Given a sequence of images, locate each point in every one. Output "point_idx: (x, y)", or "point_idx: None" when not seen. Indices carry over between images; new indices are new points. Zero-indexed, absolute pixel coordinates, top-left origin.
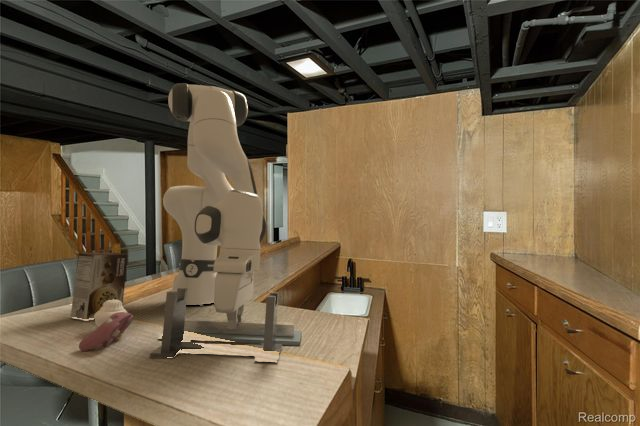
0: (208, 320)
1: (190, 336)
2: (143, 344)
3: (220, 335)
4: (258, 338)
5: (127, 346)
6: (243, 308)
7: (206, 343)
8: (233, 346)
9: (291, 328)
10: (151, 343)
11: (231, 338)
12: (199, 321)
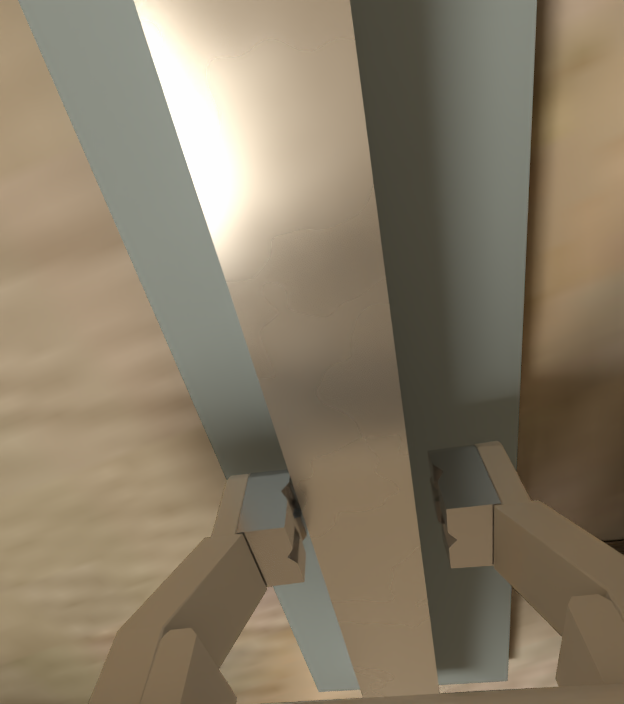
0: (401, 647)
1: None
2: None
3: None
4: (477, 169)
5: None
6: (184, 603)
7: (537, 494)
8: (599, 327)
9: None
10: (558, 655)
11: (514, 396)
12: (436, 670)
